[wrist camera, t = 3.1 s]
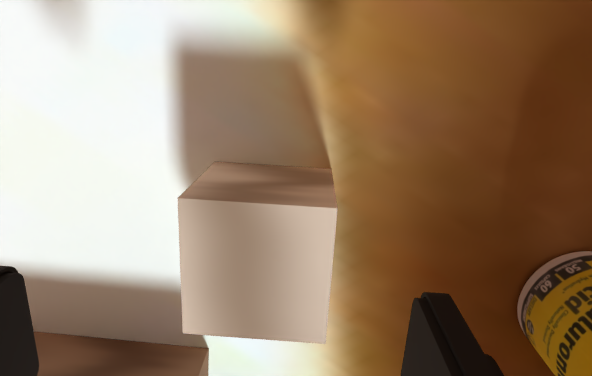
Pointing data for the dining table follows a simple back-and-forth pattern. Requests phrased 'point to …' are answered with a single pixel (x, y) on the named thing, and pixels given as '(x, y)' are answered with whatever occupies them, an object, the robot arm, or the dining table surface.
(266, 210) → the maple block
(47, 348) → the walnut block
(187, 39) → the dining table surface
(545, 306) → the supplement bottle
